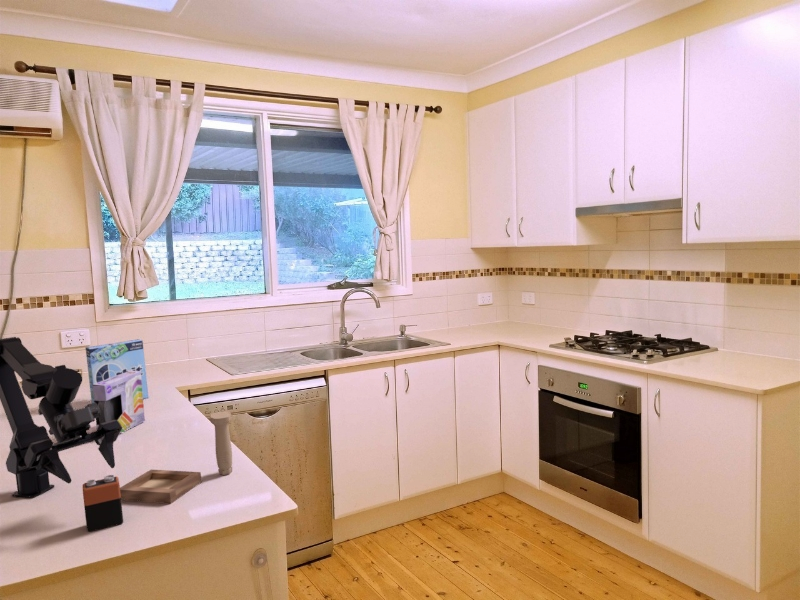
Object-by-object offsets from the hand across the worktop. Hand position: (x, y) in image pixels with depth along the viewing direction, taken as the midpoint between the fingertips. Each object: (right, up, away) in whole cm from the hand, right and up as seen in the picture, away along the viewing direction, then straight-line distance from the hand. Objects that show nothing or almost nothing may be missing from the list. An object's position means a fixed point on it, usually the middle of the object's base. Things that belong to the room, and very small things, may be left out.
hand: (92, 474), depth 127 cm
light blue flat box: (-41, -2, +102) cm, 110 cm away
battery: (+3, -10, -1) cm, 11 cm away
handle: (+21, -7, +24) cm, 33 cm away
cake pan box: (-24, -5, +65) cm, 70 cm away
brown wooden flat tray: (+8, -8, +15) cm, 19 cm away
